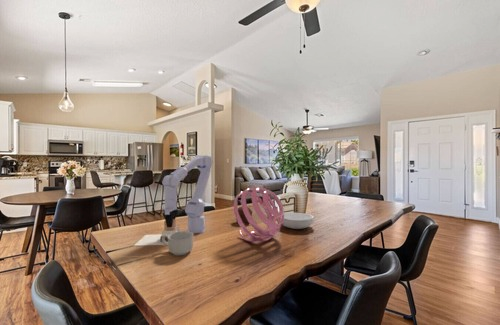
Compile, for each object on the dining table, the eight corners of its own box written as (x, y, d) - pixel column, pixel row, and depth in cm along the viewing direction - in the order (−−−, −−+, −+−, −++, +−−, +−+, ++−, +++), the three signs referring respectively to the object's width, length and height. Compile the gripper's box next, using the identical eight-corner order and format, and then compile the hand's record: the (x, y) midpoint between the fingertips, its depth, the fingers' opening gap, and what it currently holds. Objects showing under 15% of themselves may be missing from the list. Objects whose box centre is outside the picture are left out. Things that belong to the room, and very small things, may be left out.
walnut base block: (180, 236, 126) (180, 231, 126) (177, 241, 118) (177, 236, 118) (164, 236, 125) (164, 231, 125) (160, 241, 117) (160, 236, 117)
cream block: (179, 231, 125) (179, 227, 125) (176, 236, 118) (176, 231, 118) (165, 232, 124) (165, 227, 124) (161, 236, 117) (161, 231, 117)
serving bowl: (318, 225, 148) (318, 214, 148) (306, 234, 131) (306, 222, 131) (287, 220, 160) (287, 210, 160) (272, 228, 142) (272, 217, 142)
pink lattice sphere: (213, 199, 127) (249, 172, 114) (248, 205, 147) (282, 182, 134) (226, 252, 112) (268, 227, 100) (262, 250, 132) (302, 229, 120)
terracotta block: (175, 226, 124) (175, 219, 124) (173, 229, 119) (173, 221, 119) (166, 226, 123) (166, 219, 123) (164, 229, 119) (164, 221, 119)
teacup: (198, 250, 108) (198, 232, 108) (183, 259, 98) (183, 240, 97) (172, 246, 112) (172, 229, 112) (156, 255, 102) (156, 236, 102)
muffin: (245, 225, 148) (245, 209, 147) (231, 223, 154) (231, 207, 153) (255, 221, 157) (255, 206, 157) (242, 219, 164) (242, 204, 163)
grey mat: (183, 234, 130) (183, 233, 130) (177, 245, 114) (177, 244, 114) (145, 235, 128) (145, 234, 128) (133, 246, 112) (133, 245, 112)
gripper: (166, 196, 128) (166, 222, 128) (158, 201, 113) (158, 230, 114) (179, 196, 129) (179, 221, 129) (173, 201, 114) (173, 229, 114)
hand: (170, 225), depth 121 cm, fingers closed on terracotta block, 4 cm apart
